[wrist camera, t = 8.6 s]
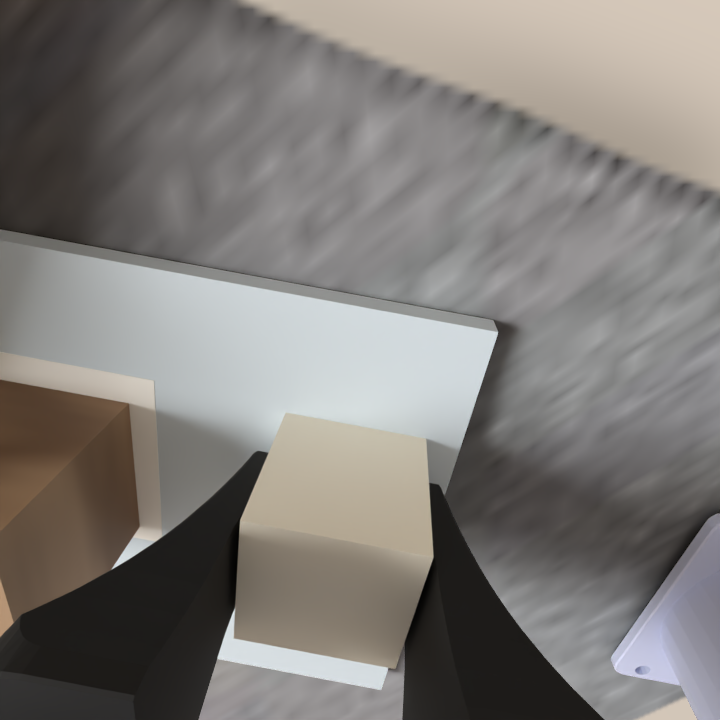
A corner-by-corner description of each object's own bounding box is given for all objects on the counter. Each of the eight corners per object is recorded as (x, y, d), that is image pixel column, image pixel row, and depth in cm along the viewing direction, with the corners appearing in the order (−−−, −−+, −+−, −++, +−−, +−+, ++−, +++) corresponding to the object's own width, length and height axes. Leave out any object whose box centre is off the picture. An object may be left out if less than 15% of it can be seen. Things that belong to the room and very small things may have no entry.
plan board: (493, 320, 12) (498, 332, 11) (382, 669, 19) (381, 690, 19) (-182, 196, 12) (-220, 200, 11) (-38, 589, 20) (-56, 607, 19)
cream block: (426, 438, 13) (433, 557, 9) (398, 538, 15) (395, 669, 11) (285, 412, 13) (240, 520, 9) (275, 515, 15) (233, 638, 11)
